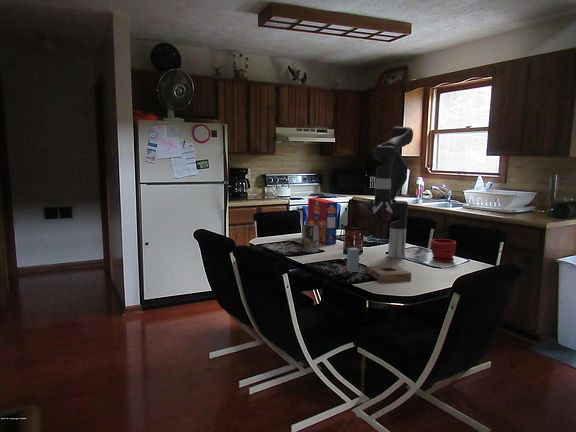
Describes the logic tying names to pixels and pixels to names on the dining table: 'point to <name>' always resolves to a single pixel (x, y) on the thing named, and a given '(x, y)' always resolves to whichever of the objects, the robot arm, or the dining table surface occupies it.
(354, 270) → the peg
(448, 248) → the plant pot
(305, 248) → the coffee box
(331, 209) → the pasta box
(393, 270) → the socket block
